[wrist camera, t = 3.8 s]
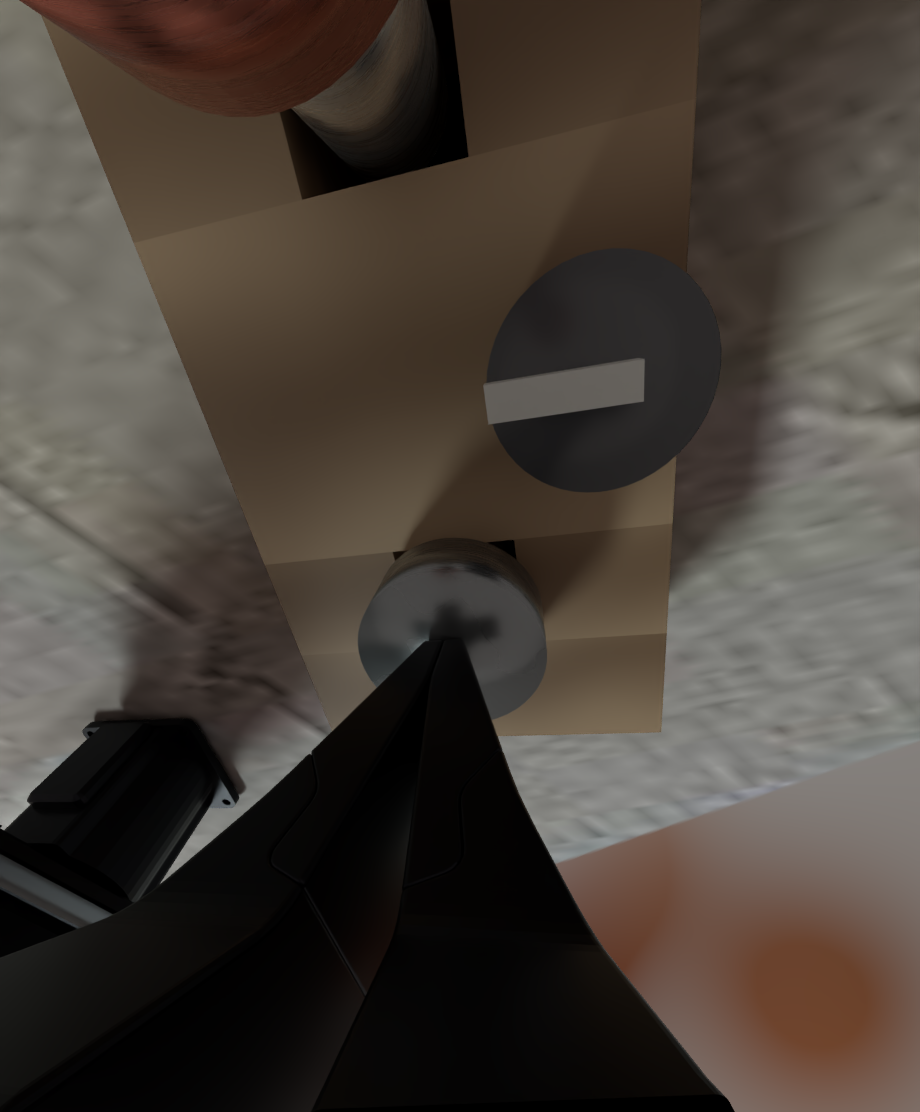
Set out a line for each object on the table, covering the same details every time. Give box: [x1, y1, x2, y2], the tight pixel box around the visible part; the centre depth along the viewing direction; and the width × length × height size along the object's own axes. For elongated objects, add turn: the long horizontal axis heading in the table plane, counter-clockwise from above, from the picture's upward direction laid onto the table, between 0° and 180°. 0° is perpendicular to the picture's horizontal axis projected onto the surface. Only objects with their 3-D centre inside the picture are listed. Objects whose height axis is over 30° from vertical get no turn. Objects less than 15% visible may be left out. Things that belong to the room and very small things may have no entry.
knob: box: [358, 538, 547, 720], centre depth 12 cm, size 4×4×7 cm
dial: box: [483, 248, 721, 493], centre depth 7 cm, size 3×3×3 cm
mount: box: [41, 0, 701, 736], centre depth 11 cm, size 20×10×5 cm, turn 10°
